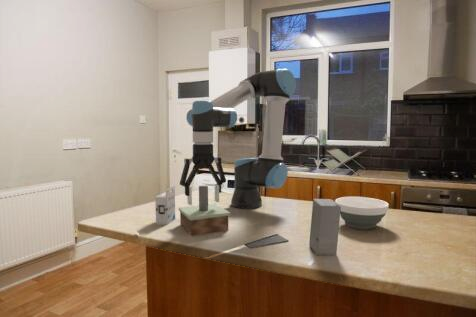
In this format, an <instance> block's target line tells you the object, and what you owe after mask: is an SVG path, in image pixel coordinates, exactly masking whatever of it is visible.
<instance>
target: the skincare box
mask: <svg viewBox="0 0 476 317" xmlns="http://www.w3.org/2000/svg"><path fill="white" fill-rule="evenodd" d="M311 207H312V210H311V220H310V231H309V232H310V233H309V242H308V245H309V247H311V249H312V250H313V252H314V253H315V254H316V255H317V256H325V255H326V256H327V255H328V256H334V255H337V254H338V253H337V250H338V239H339V230H340V219H341V215H340V211H341V206H340V205H338V204H337V202H335V200H333V199H331V198H330V199H329V198H327V199H326V198H313V199H312V206H311Z"/></svg>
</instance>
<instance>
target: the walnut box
mask: <svg viewBox="0 0 476 317" xmlns="http://www.w3.org/2000/svg"><path fill="white" fill-rule="evenodd" d="M179 213H180V214H179V216H180V218H179V219H180V226H181V227H182V228H183V229H184V230H185V231H186V232H187V233H188V234H189V235H190V236H191V237H192V236H199V235H207V234H213V233H219V232H226V231H227V232H228V231H229V215H228V216H221V217H213V218H205V219H198V220H190V219H188V218H187V217H186V216H185V215H184V214H182V213H181V212H180V211H179Z"/></svg>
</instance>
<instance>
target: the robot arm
mask: <svg viewBox="0 0 476 317" xmlns="http://www.w3.org/2000/svg"><path fill="white" fill-rule="evenodd" d="M296 88H297V82H296V78H295V75H294V74H293V72H292V71H291V70H290V69H288V68H278V69H271V70H263V71H259V72H256V73H254V74H252V75H250V76H248V77H247V78H244V79H243V80H242V81H240V82H239V83H238V85H237V86H235V87H233V88H232V89H230V90H229V91H227V92H225V93H223V94H221V95H218V97H216V98H215V99H213V100H195V101H193V102H192V108H191V109H189V111H188V112H186V122H187V123H188V125H190V126H191V127H192V143H193V144H192V157H191V158H184V165H183V169H182V173H181V176H180V181H179V185H180V186H181V187H184V195H185V196H186V197H187V204H188V205H189V206H193V204H192V203H193V197H192V196H193V195H192V190H193V189H192V186H191V184H192V182H193V181H194V179H195V176H196V175H197V173H198V171H199V170H203V169H207V170H209V172H210V174H211V175H212V178H213V179H214V181H215V183H214V202H216V203H220V193H222V185H223V184H224V183H226V182H227V179H226V175H225V173H224V169H223V165H222V158H221V157H219V156H216V157H215V156H214V145H213V144H214V128H230V127H231V128H233V126H235V125H236V123H237V122H238V113H237V111H236V110H235V109H234V108H237V107H238V106H239V105H240V104H242V103H244V102H245V101H251V100H253V99H255V98H259V97H263V99H264V100H265V102H266V107H265V118H264V128H263V137H262V148H261V149H262V150H261V154H260V155H259V156H258V157H247V158H238V159H236V160H235V161H234V191H233V194H232V197H231V200H230V205H231V206H232V207H234V208H237V209H238V208H239V209H256V208H260V207H262V206H263V200H262V197H261V193H260V190H259V187H264V188H267V189H279V188H281V187H282V186H283V185H284V184H285V183H286V181H287V178H288V174H289V172H288V170H289V169H288V166H287V164H285V163H284V158H283V157H282V155H281V153H282V142H283V134H284V125H285V124H284V123H285V111H286V104H287V103H288V102H289V101H290V96H292V95H293V94H294V93H295V91H296ZM192 163H193V167H192V168H191V171H190V165H191V164H192ZM213 163H215V166H216V168H217V172H218V174H217V172H216V170H215V169H214V166H213ZM189 171H190V173H189ZM188 174H189V175H188Z"/></svg>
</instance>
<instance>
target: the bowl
mask: <svg viewBox="0 0 476 317" xmlns="http://www.w3.org/2000/svg"><path fill="white" fill-rule="evenodd" d="M334 202H337V204H338V205H340V206H341V211H340V218H341V219H342V220H343V221H344V224H345V225H346V226H347V227H349V228H351V229H356V230H364V231H366V230H373V229H375V228H376V227H377V225H378V224H379V223H380V222H381V221H382V219H383V218H384V217H385V216H386V214H387V213H388V211H389V203H388V202H387V201H385V200H381V199H379V198H374V197H366V196H342V197H338V198H336V199H335V200H334Z"/></svg>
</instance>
